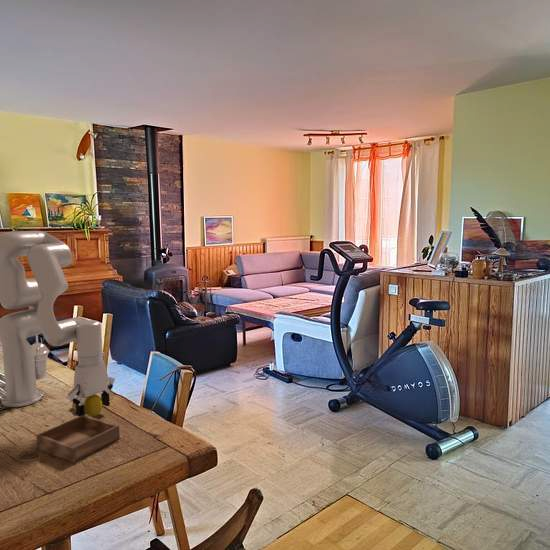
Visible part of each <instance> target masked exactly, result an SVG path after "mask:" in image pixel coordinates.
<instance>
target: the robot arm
mask: <svg viewBox="0 0 550 550" xmlns="http://www.w3.org/2000/svg"><path fill="white" fill-rule="evenodd" d="M19 257H20V258H21V257H26V259H27V263H28V265H29V267H30V270H31V273H32V274H33V277H34V278H26V269H25V267H24V265H23V263H22V261H20V260H19ZM72 262H73V253H72V250H71V249H70V247H69V246H68V245H67V244H66V243H64V242H63V241H62V240H60V239H58V238H57V237H55V236H53V235H51V234H50V233H48V232H46V231H42V230H25V231H24V230H19V231H7V232H2V233H0V305H1V306H2V308H4V309H6V310H15V309H22V308H27V307H28V309H27V310H20V311H15V312H11V313H8V314H5V315H3V316H2V317H0V345H1V350H2V351H1V352H2V358H3V371H4V383H5V385H4V386H5V388H4V387H3V389H2V391H3V392H4V393H5V397H3V398H2V399H1V405H2V406H4V407H7V408H19V407H24V406H29V405H32V404H35V403H37V402H39V401H40V400H41V399H42V398H43V394H42V392H40V391H37V378H36V375H35V361H34V351H33V348H32V346H31V345H32V344H30V342H29V341H28V340H27V338H31V337H34V336H35V337H36V335H41V334H42V336H43V337H44V340H45V341H46V342H47V343H48V344H49V345H51V346H52V347H60V346H64V345H67V344H69V343H73V342H76V352H77V353H76V354H77V365H75V369H74V376H73V388H72V389H71V390H70V391H69V392H68V394H67V397H68V399H69V400H70V401H69V402H71V403H72V404H73V403H74V404H76V410H75V413H76V416H77V417H80V416H82V415H86V413H85V408H84V405H83V402H84V400H85V398H87V397H90V396H92V395H98V394H100V393H101V394H100V398H101V400H102V406H105V407H110V405H111V403H110V402H111V401H110V394H111V393H112V392H111V391H112V389H113V387H114V383H115V377H111V376H109V375H108V370H107V365H106V362H105V360H104V356H106V353H105V351H103V338H102V337H103V336H102V335H103V333H102V325H101V322H100V321H98V320H94V319H93V320H92V319H87V318H85V317H80V316H77V317H72V318H71V317H70V318H66V319H63V320H58V321H57V319H56V316H55V313H54V304H55V301H56V300H57V298H58V297H59V296H60V295H62V294H63V293H64V292H65V291H67V290H68V288H69V283H68V281H67V278H66V276H65V273H64V272H63V269H62V268H66V267H69V266H70V265H71V264H72ZM75 396H76V397H75ZM80 398H81V399H80ZM79 400H80V401H79Z"/></svg>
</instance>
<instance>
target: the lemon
mask: <svg viewBox="0 0 550 550" xmlns="http://www.w3.org/2000/svg"><path fill="white" fill-rule="evenodd" d="M84 408H85V415H86V416H89V417H92V418H95V417H97V416H99V414H100V413H101V412H102V410H103V405H102V400H101V396H99V395H98V394H95V395H92V396H90V397H87V398H86V400H85V403H84ZM95 419H96V418H95Z"/></svg>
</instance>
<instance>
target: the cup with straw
mask: <svg viewBox="0 0 550 550" xmlns="http://www.w3.org/2000/svg"><path fill="white" fill-rule="evenodd" d="M30 345H31V346H32V348H33V351H34V361H35V375H36V379H41V378H44V377H47V366H48V365H47V363H48V355H49V353H50V348H48V347H47V346H46V344H44V343H43V342H39V336H38V335H35V343H33V344H30Z"/></svg>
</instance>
